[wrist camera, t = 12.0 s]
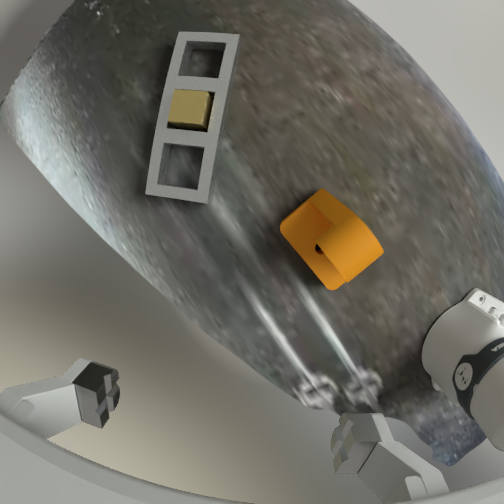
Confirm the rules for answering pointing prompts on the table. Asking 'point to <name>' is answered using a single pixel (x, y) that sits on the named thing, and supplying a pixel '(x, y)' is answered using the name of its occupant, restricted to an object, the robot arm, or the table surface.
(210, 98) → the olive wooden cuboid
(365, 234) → the bracket
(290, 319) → the table surface
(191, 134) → the grey rectangular frame
